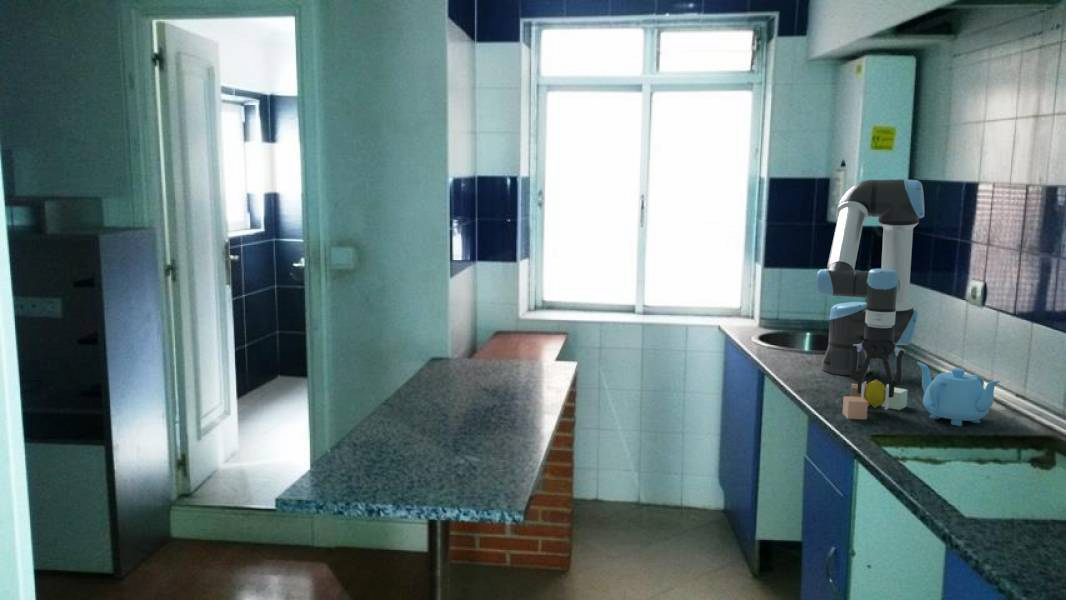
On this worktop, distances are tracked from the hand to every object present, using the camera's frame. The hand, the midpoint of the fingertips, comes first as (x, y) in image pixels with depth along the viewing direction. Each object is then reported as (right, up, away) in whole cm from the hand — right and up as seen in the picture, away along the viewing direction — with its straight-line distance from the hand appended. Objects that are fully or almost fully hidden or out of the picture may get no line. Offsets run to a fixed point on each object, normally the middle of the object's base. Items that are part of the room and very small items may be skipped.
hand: (874, 406), depth 222 cm
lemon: (0, 0, 0) cm, 1 cm away
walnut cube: (0, 0, +9) cm, 9 cm away
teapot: (+18, -3, -7) cm, 20 cm away
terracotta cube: (-7, -2, -4) cm, 9 cm away
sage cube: (+8, -1, +5) cm, 10 cm away
